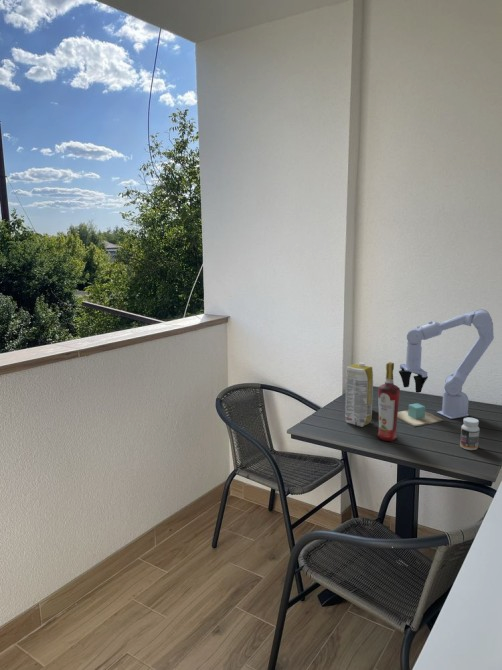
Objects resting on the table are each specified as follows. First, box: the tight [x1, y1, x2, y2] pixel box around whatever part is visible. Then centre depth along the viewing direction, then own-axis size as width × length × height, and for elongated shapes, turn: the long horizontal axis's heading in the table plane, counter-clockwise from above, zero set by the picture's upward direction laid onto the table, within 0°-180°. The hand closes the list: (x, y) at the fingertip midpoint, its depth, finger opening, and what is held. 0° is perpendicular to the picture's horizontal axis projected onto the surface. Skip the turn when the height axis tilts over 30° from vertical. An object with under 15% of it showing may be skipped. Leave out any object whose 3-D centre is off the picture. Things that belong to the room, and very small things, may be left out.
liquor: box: [376, 361, 401, 442], centre depth 168 cm, size 7×7×28 cm
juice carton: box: [344, 361, 374, 428], centre depth 184 cm, size 9×8×24 cm
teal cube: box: [407, 402, 426, 419], centre depth 189 cm, size 4×4×4 cm
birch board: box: [397, 409, 444, 427], centre depth 190 cm, size 14×14×1 cm
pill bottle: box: [459, 416, 481, 451], centre depth 161 cm, size 6×6×10 cm
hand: (412, 389), depth 197 cm, fingers open, 7 cm apart
